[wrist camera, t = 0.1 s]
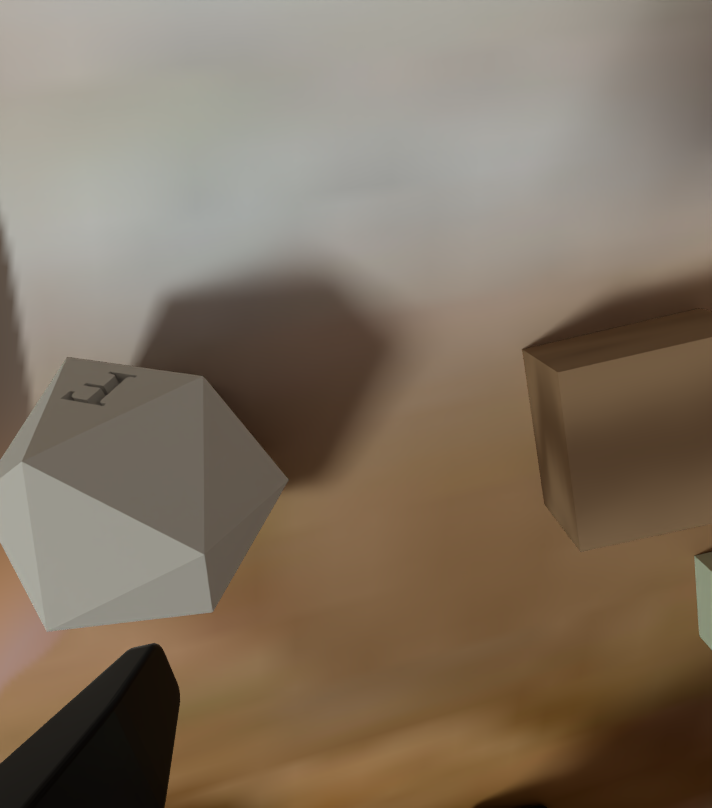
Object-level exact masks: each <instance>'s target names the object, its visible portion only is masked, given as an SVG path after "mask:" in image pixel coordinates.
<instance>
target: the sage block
mask: <svg viewBox="0 0 712 808" xmlns="http://www.w3.org/2000/svg"><path fill="white" fill-rule="evenodd" d="M694 558H695V574H696V590H697V607H698V623H699V636H700V637H701V638H702V639H703V640H704V642H705V643H706V644H707V645H708V646H709V647H710V648H711V650H712V552H709V553H704V554H700V555H695V556H694Z"/></svg>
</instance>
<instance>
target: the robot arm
mask: <svg viewBox="0 0 712 808" xmlns="http://www.w3.org/2000/svg"><path fill="white" fill-rule="evenodd" d="M179 706H180V691H179V687H178V684H177V681H176V679H175V676H174V674H173V672H172V669H171V667H170V665H169V662H168V660H167V657H166V655H165V653H164V651H163V649H162V647H161V646H160V645H158V644H156V643H152V644H148V645H143V646H138V647H134V648H131V649H129V650H128V651H126V652H125V653H124V654H123V655H122V656H121V657H120V658H119V659H117V660H116V661H115V662H114V663H113V664H112V665H111V666H110V667H108V668H107V669H106V670H105V671H104V672H103V673H102V674H101V675H99V676H98V677H97V678H96V679H95V680H94V681H93V682H92V683H90V684H89V685H88V686H87V687H86V688H85V689H84V690H83V691H81V692H80V693H79V694H78V695H77V696H76V697H75V698H74V699H72V700H71V701H70V702H69V703H68V704H67V705H66V706H65V707H63V708H62V709H61V710H60V711H59V712H58V713H57V714H56V715H55V716H53V717H52V718H51V719H50V720H49V721H48V722H47V723H46V724H44V725H43V726H42V727H41V728H40V729H39V730H38V731H37V732H35V733H34V734H33V735H32V736H31V737H30V738H29V739H28V740H26V741H25V742H24V743H23V744H22V745H21V746H20V747H19V748H17V749H16V750H15V751H14V752H13V753H12V754H11V755H10V756H8V757H7V758H6V759H5V760H4V761H3V762H2V763H1V764H0V808H164V807H165V801H166V796H167V789H168V782H169V775H170V768H171V761H172V754H173V747H174V740H175V733H176V726H177V720H178V713H179ZM530 808H547V807H546V806H535V807H530Z"/></svg>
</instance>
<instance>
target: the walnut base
mask: <svg viewBox="0 0 712 808" xmlns="http://www.w3.org/2000/svg"><path fill="white" fill-rule="evenodd" d="M522 352H523V359H524V366H525V373H526V380H527V387H528V394H529V401H530V408H531V414H532V421H533V428H534V435H535V442H536V449H537V456H538V463H539V470H540V477H541V484H542V491H543V498H544V504H545V505H546V507H547V508H548V509H549V511H550V512H551V513H552V515H553V516H554V517H555V519H556V520H557V521H558V523H559V524H560V525H561V527H562V528H563V529H564V531H565V532H566V533H567V535H568V536H569V537H570V539H571V540H572V541H573V543H574V544H575V545H576V547H577V548H578V550H579V551H580V552H583V551H588V550H592V549H597V548H602V547H606V546H611V545H616V544H620V543H625V542H630V541H634V540H639V539H643V538H648V537H653V536H657V535H662V534H667V533H671V532H676V531H681V530H685V529H690V528H695V527H699V526H704V525H708V524H712V311H709V310H705V309H700V308H698V309H694V310H690V311H685V312H681V313H677V314H672V315H668V316H664V317H659V318H655V319H651V320H646V321H642V322H638V323H634V324H629V325H625V326H621V327H616V328H612V329H608V330H603V331H599V332H595V333H590V334H586V335H582V336H577V337H573V338H569V339H565V340H560V341H556V342H552V343H547V344H543V345H539V346H534V347H530V348H526V349H522Z"/></svg>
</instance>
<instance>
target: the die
mask: <svg viewBox="0 0 712 808" xmlns="http://www.w3.org/2000/svg"><path fill="white" fill-rule="evenodd" d="M288 480H289V479H288V478H287V477H286V476H285V475H284V473H283V472H282V471H281V470H280V468H279V467H278V466H277V465H276V464H275V462H274V461H273V460H272V459H271V458H270V456H269V455H268V454H267V453H266V451H265V450H264V449H263V448H262V447H261V445H260V444H259V443H258V442H257V441H256V439H255V438H254V437H253V436H252V434H251V433H250V432H249V431H248V430H247V428H246V427H245V426H244V425H243V424H242V422H241V421H240V420H239V419H238V417H237V416H236V415H235V414H234V413H233V411H232V410H231V409H230V408H229V406H228V405H227V404H226V403H225V402H224V400H223V399H222V398H221V397H220V396H219V394H218V393H217V392H216V391H215V389H214V388H213V387H212V386H211V385H210V383H209V382H208V381H207V380H206V379H205V378H204V377H203V376H199V375H192V374H185V373H178V372H171V371H164V370H157V369H149V368H142V367H135V366H128V365H121V364H114V363H107V362H100V361H93V360H86V359H79V358H72V357H67V358H66V359H65V361H64V362H63V364H62V366H61V367H60V369H59V370H58V372H57V373H56V375H55V376H54V378H53V379H52V381H51V383H50V384H49V386H48V387H47V389H46V390H45V392H44V393H43V395H42V396H41V398H40V400H39V401H38V403H37V404H36V406H35V407H34V409H33V410H32V412H31V413H30V415H29V416H28V418H27V420H26V421H25V423H24V424H23V426H22V427H21V429H20V430H19V432H18V433H17V435H16V437H15V438H14V440H13V441H12V443H11V444H10V446H9V448H8V449H7V450H6V452H5V454H4V455H3V457H2V458H1V460H0V543H1V544H2V546H3V548H4V550H5V552H6V554H7V556H8V558H9V560H10V562H11V564H12V565H13V568H14V569H15V571H16V573H17V575H18V577H19V579H20V581H21V583H22V585H23V587H24V589H25V591H26V593H27V594H28V596H29V598H30V600H31V602H32V604H33V606H34V608H35V610H36V612H37V614H38V616H39V618H40V619H41V621H42V623H43V625H44V627H45V629H46V631H47V632H48V631H57V630H65V629H74V628H83V627H91V626H100V625H108V624H117V623H125V622H134V621H142V620H151V619H159V618H168V617H176V616H185V615H193V614H202V613H211V612H213V611H214V609H215V607H216V606H217V604H218V602H219V600H220V599H221V597H222V595H223V593H224V592H225V590H226V588H227V586H228V585H229V583H230V581H231V579H232V578H233V576H234V574H235V573H236V571H237V569H238V567H239V566H240V564H241V562H242V560H243V559H244V557H245V555H246V553H247V552H248V550H249V548H250V546H251V545H252V543H253V541H254V539H255V538H256V536H257V534H258V532H259V531H260V529H261V527H262V526H263V524H264V522H265V520H266V519H267V517H268V515H269V513H270V512H271V510H272V508H273V506H274V505H275V503H276V501H277V499H278V498H279V496H280V494H281V492H282V491H283V489H284V487H285V486H286V484H287V482H288Z"/></svg>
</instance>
